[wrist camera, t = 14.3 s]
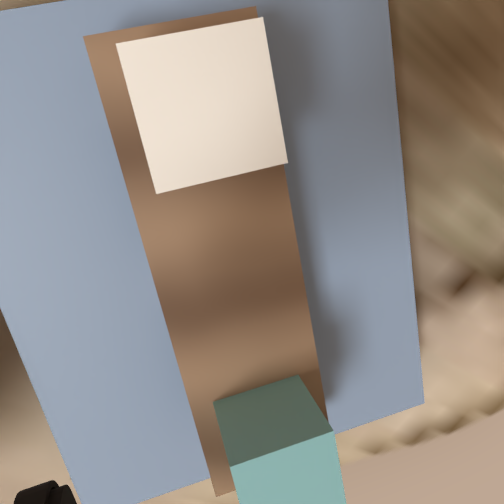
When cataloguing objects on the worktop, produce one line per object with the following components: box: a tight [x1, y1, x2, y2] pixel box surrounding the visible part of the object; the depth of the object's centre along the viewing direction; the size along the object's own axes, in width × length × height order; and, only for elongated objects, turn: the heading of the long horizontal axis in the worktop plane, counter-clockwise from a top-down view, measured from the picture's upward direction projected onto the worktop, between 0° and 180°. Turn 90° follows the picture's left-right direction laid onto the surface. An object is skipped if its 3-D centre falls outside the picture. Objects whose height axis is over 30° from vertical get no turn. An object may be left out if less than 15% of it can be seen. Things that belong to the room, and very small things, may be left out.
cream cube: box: [116, 17, 288, 194], centre depth 15 cm, size 4×4×4 cm
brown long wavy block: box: [83, 6, 329, 497], centre depth 20 cm, size 20×6×4 cm, turn 11°
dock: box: [0, 0, 424, 504], centre depth 24 cm, size 24×20×4 cm
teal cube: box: [213, 375, 346, 504], centre depth 19 cm, size 4×4×4 cm
